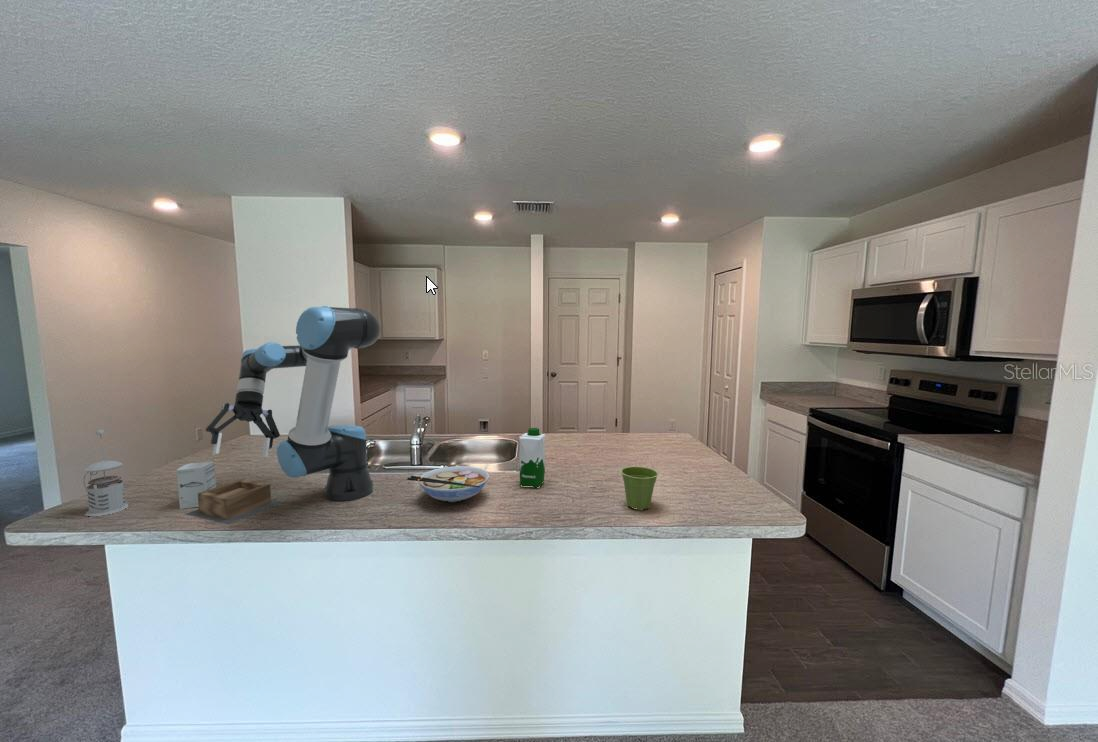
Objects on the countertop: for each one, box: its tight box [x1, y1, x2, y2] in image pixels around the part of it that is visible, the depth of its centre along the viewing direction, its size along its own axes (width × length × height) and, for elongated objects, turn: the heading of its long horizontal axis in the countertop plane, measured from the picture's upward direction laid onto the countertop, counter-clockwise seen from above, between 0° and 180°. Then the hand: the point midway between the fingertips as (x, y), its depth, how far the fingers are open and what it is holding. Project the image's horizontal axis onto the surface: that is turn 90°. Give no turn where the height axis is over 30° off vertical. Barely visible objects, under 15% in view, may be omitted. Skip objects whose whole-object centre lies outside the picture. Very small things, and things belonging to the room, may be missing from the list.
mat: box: [185, 498, 284, 525], centre depth 133 cm, size 19×17×1 cm
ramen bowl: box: [406, 465, 490, 503], centre depth 143 cm, size 25×23×8 cm
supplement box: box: [176, 461, 217, 510], centre depth 136 cm, size 7×7×13 cm
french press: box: [82, 429, 130, 517], centre depth 131 cm, size 10×12×25 cm
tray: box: [198, 478, 272, 520], centre depth 133 cm, size 13×13×6 cm
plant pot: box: [620, 465, 659, 510], centre depth 137 cm, size 12×12×11 cm
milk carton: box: [518, 427, 546, 487], centre depth 155 cm, size 9×9×20 cm
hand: (241, 456), depth 137 cm, fingers open, 13 cm apart
